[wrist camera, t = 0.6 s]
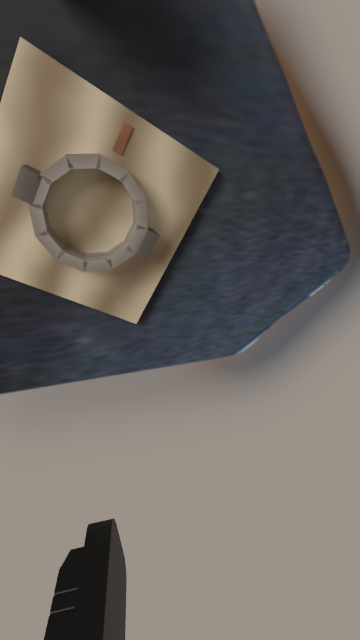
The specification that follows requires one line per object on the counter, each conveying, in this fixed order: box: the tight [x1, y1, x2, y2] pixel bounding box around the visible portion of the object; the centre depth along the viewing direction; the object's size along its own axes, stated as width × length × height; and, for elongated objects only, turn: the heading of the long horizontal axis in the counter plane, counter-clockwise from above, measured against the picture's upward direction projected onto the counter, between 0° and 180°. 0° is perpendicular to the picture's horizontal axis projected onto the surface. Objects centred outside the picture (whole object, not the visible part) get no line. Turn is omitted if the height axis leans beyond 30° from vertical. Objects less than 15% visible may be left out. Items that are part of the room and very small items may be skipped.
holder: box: [0, 37, 219, 324], centre depth 29 cm, size 18×18×4 cm
